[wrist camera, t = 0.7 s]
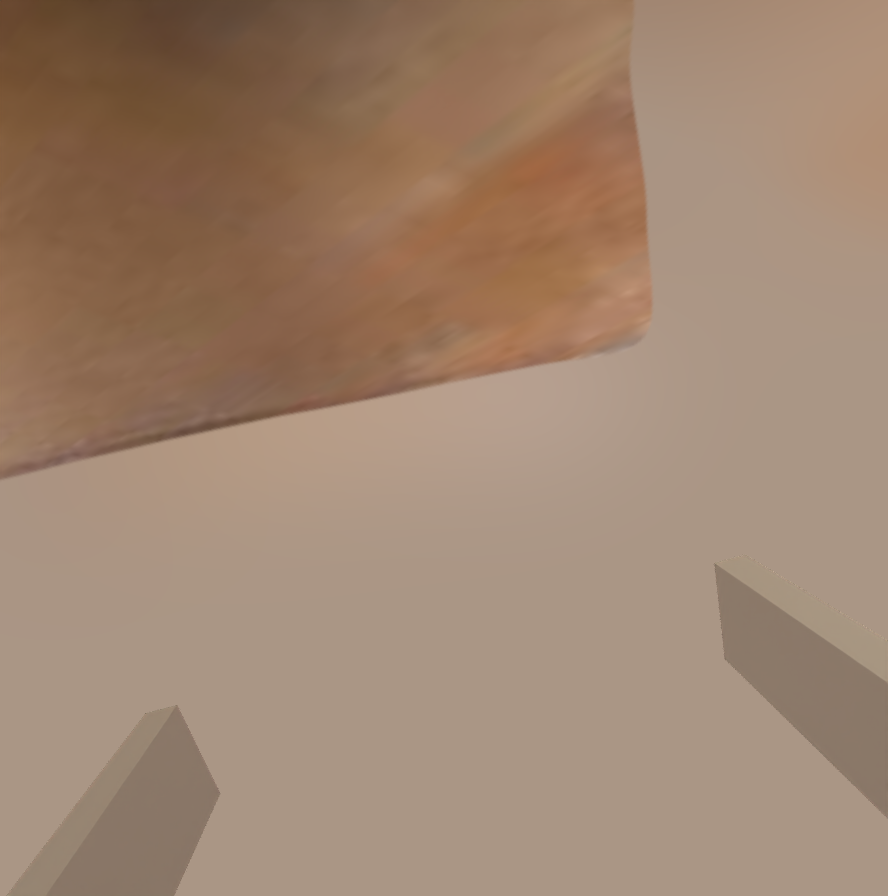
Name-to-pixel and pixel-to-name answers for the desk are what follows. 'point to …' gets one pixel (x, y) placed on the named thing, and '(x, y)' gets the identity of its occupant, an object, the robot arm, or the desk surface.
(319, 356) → the desk surface
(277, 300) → the desk surface
